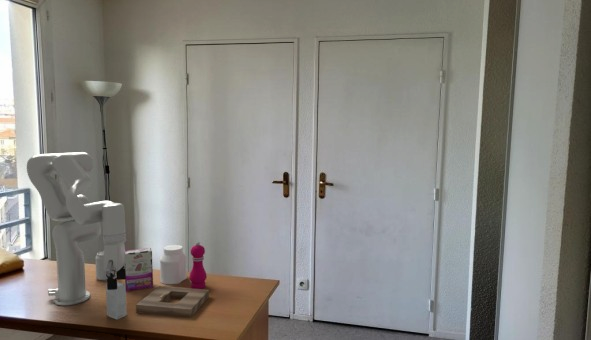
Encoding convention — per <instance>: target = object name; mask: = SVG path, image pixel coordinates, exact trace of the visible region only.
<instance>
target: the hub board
mask: <svg viewBox="0 0 591 340" xmlns="http://www.w3.org/2000/svg"><path fill="white" fill-rule="evenodd" d="M209 297H210V290H209V289H204V288H203V289H192V288H191V287H189V288H188V287H179V286H178V287H175V286H163V285H159V286H158V287H156V288H155V289H154V290H152V292H150V293H149V294H148V295H146V296H145V297H143V298H142V299H141V300H140V301H139V302H138V303H136V304H135V312H136V313H141V314H150V315H162V316H170V317H171V316H173V317H184V318H192V317H193V316H194V315H195V314H196V312H197V311H198V310H199V309H200V308H201V307H202V306H203V304H204V303H205V302H206V301H207V300H208V299H209ZM171 299H180V300H179V301H178V302H177V303H175V302H169V301H170V300H171Z"/></svg>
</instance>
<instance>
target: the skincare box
mask: <svg viewBox="0 0 591 340" xmlns="http://www.w3.org/2000/svg"><path fill="white" fill-rule="evenodd" d="M105 296H106V316H107V317H109V318H112V319H115V320H116V321H118V320H120V319H122V318H123V317H124V318H125V317H127V291H126V285H125V283H124V282H123V283H122V282H120V281H117V289H116V290H108V289H107V283H105Z"/></svg>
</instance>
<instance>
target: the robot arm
mask: <svg viewBox="0 0 591 340" xmlns="http://www.w3.org/2000/svg"><path fill="white" fill-rule="evenodd" d="M94 167H95V161H94V158H93V157H92V155H90V154H89V153H88V152H84V151H81V152H80V151H79V152H58V153H57V152H55V153H41V154H35V155H32V156H31V157H30V158H29V159H28V160H27V162H26V173H27V177H28V179H29V180H30V182H31V183H32V185H33V186H34V188H35V189H36V190H37V192H38V194H39V197H40V199H41V201H42V204H43V206H44V208H45V210H46V213H47V214H48V217H49V219H51V220H52V221H56V222H60V221H61V222H60V223H58V224H56V225H55V226H54V227H53V229H52V231H51V232H52V233H51V235H52V240H53V244H54V247H55V255H56V272H57V288H49V289H48V290H47V294H48V296H49V297H51V296H52V297H54V298H53V302H54V304H55V305H58V306H72V305H77V304H81V303H83V302H85V301H87V300H88V299H90V297H91V293H90V291H88V290H86V289H87V288H86V269H85V253H84V252H83V250H82V249H81V248H80V247H79V246H78V244H82V243H85V242H90V241H93V240H96V239H98V238H99V237H100V235H101V234H102V244H103V251H104V272H106V276H107V277H106V279H107V280H106V284H107V289H108V290H116V289H117V282H118V281H120V280H121V281H122V280H124V281H125V279H126V269H125V267H126V266H125V262H126V254H125V251H126V247H125V243H126V242H127V235H126V234H127V233H126V232H127V231H126V216H125V215H126V213H125V205H124V204H123V203H120V202H113V201H111V200H101V201H95V202H94V201H93V202H91V200H90V199H89V198H88V196H86V195H85V194H83V193H84V192H85V191H87V190H88V189H89V188H90V186H91V185H92V182H93V181H92V178H91V176H90V175H89V174H88V173H90V172H92V171H93V169H95V168H94ZM51 175H52V176H53V175H58V177H59V178H60V180H61V181H62V182H63V184H64V185H65V186H66V188H67V191H65V188H64V186H63V184H61V182H60V181H59V180H57V179H56V178H54V177H52V176H51ZM111 269H114V270H111ZM111 272H114V275H113V273H111Z"/></svg>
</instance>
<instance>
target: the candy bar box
mask: <svg viewBox="0 0 591 340" xmlns="http://www.w3.org/2000/svg"><path fill="white" fill-rule="evenodd" d="M152 250H153V249H152V248H151V247H148V248H147V247H146V248H138V249H130V250H128V249H127V250H125V254H126V262H125V266H126V267H125V268H124V269H126V279H125V280H124V284H125V285H126V292H131V291H132V292H133V291H137V290H139V291H140V290H144V289H145V290H146V289H152V288H154V274H153V273H154V271H153V268H154V267H153V251H152Z"/></svg>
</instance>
